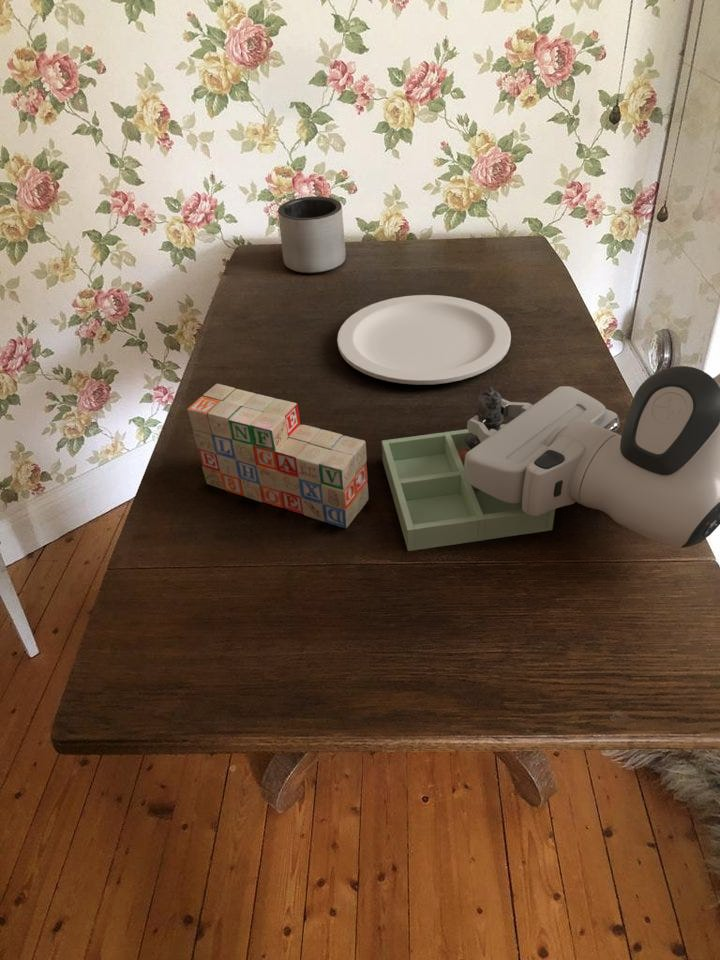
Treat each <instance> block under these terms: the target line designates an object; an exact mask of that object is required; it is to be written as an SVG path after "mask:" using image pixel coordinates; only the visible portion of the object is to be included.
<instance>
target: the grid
mask: <svg viewBox="0 0 720 960" xmlns="http://www.w3.org/2000/svg"><path fill="white" fill-rule="evenodd" d="M506 424H507V423H501V425H500V429H501V428H502V427H504V426H505V425H506ZM469 434H470V432H469V431H468V429H467V428H466V429H458V430H450V431H444V432H436V433H428V434H423V435H415V436H407V437H399V438H391V439H384V440H381V457H382V458H381V459H382V464H383V467H384V471H385V475H386V478H387V481H388V485H389V489H390V492H391V496H392V499H393V503H394V507H395V510H396V513H397V518H398V520H399V524H400V528H401V531H402V535H403V538H404V542H405V545H406V549H407V552H412V551H420V550H426V549H433V548H440V547H447V546H454V545H461V544H467V543H475V542H481V541H488V540H493V539H500V538H501V539H502V538H508V537H516V536H521V535H530V534H537V533H542V532H549V531H553V529H554V528H553V527H554V522H555V514H556V509H554V510H551V511H549V512H546V513H544V514H541V515H538V516H531V515H529V514H527V513H525V512H524V511H523V510H522V502H521V503H507V502H504V501H501V500H499V499H497V498H495V497H493V496H491V495H489V494H487V493H485V492H483V491H481V490H479V489H477V488H476V487H474V486H472V485H471V484H470V483H468V482H467V480H466V477H465V474H464V463H465V455H466V453H467V452H468V451H467V449H466V447H465V445H464V444H465V438H466V437H467V436H468V435H469Z"/></svg>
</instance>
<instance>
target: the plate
mask: <svg viewBox="0 0 720 960" xmlns="http://www.w3.org/2000/svg"><path fill="white" fill-rule="evenodd" d="M511 340H512V335H511V329H510V327H509V325H508V323H507V322H506V320H505V319H504V318H503V317H502V316H501V315H500V314H498V313H497V312H496V311H495V310H493V309H491V308H489V307H487V306H485V305H483V304H480V303H478V302H475V301H473V300H469V299H465V298H461V297H455V296H448V295H437V294H416V295H415V294H414V295H406V296H404V295H403V296H399V297H392V298H388V299H384V300H381V301H377V302H375V303H372V304H369V305H367V306H365V307H362V308H361V309H359V310H358V311H356V312H354V313H353V314H351V315H350V316H349V317H348V318H347V319H346V320H344V322H343V324H342V325H341V326H340V328H339V330H338V333H337V338H336V342H337V347H338V351H339V354H340V355H341V357H342V358H343V359H344V361H345V362H346V363H347V364H348V365H350V367H352V368H353V369H355V370H357V371H358V372H360V373H362V374H364V375H367V376H369V377H372V378H375V379H378V380H381V381H385V382H390V383H395V384H396V383H397V384H402V385H415V386H416V385H419V386H421V385H440V384H448V383H453V382H458V381H463V380H466V379H469V378H472V377H475V376H478V375H480V374H482V373H484V372H486V371H488V370H490V369H492V368H493V367H495V366H496V365H497V364H499V363H500V362H501V361H502V360H503V359H504V357H505V356H507V354H508V352H509V349H510V347H511V342H512V341H511Z"/></svg>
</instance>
